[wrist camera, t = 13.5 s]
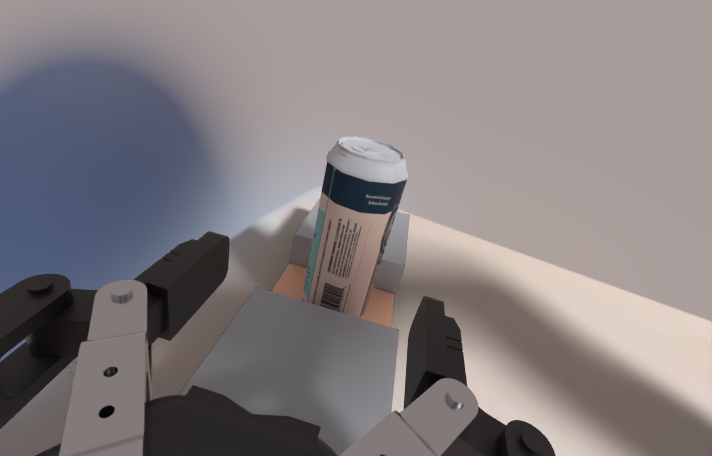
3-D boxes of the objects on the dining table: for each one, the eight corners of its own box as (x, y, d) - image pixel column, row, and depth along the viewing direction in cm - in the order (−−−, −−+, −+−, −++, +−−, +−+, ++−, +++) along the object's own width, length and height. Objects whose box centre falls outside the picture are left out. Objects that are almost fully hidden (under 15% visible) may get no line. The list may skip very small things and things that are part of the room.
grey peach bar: (398, 247, 37) (409, 215, 35) (356, 563, 14) (381, 519, 12) (318, 224, 37) (325, 191, 35) (152, 493, 15) (145, 441, 13)
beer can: (377, 320, 25) (430, 163, 19) (320, 341, 22) (363, 165, 16) (341, 279, 28) (378, 135, 22) (287, 293, 25) (314, 132, 19)
